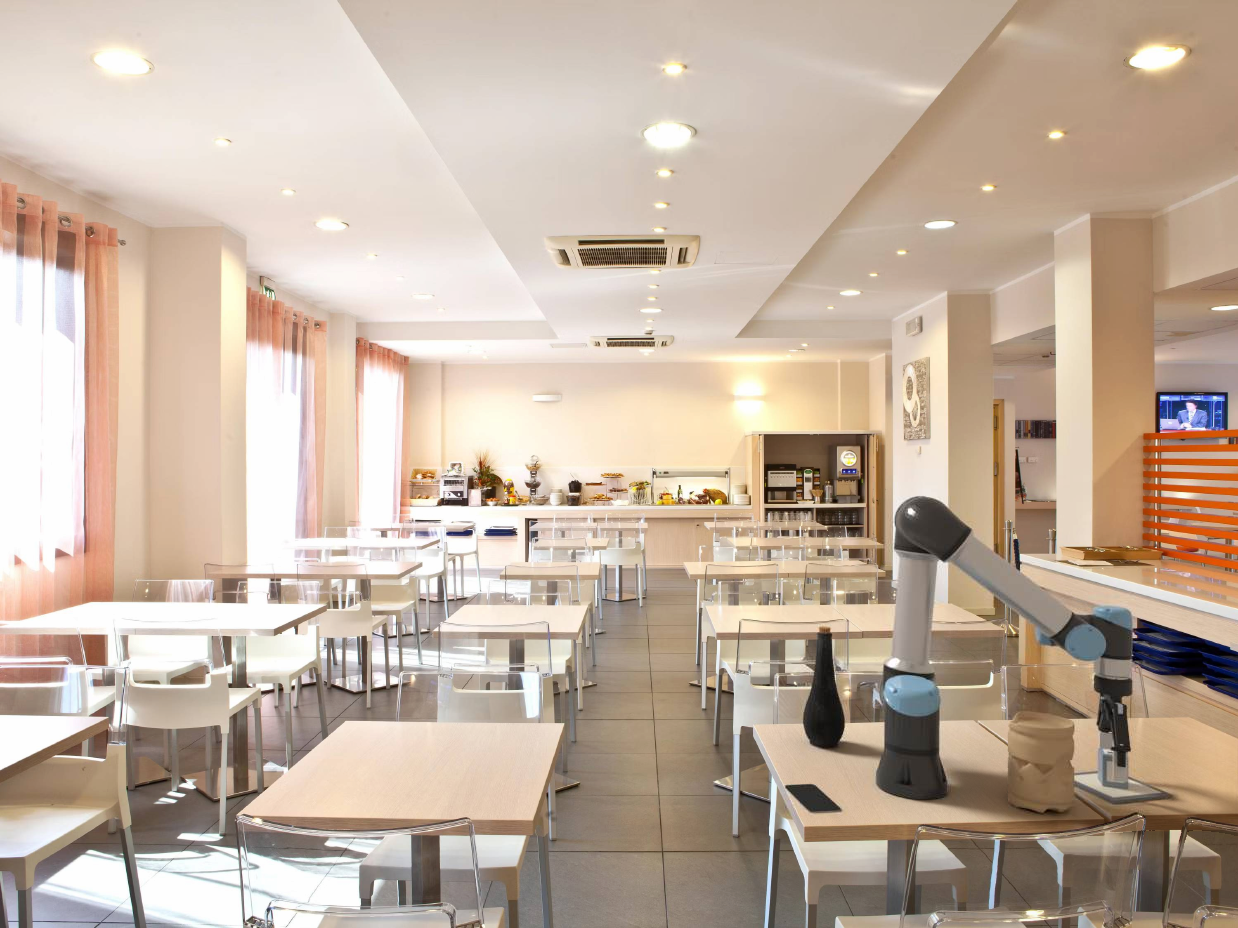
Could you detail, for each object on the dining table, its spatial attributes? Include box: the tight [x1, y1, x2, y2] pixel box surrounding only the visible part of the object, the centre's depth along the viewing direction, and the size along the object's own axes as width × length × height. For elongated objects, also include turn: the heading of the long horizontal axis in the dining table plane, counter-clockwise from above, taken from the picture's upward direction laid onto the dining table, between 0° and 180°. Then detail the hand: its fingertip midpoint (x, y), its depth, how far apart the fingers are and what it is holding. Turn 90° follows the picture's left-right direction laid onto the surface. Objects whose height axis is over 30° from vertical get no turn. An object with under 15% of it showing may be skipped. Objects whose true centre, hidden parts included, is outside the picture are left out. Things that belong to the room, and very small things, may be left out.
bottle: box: [802, 626, 846, 749], centre depth 213 cm, size 11×11×30 cm
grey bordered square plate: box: [1074, 770, 1174, 805], centre depth 185 cm, size 16×16×1 cm
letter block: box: [1097, 747, 1128, 789], centre depth 185 cm, size 5×5×7 cm
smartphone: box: [784, 783, 842, 814], centre depth 176 cm, size 7×1×15 cm
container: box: [1007, 710, 1075, 814], centre depth 174 cm, size 13×13×18 cm
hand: (1112, 770), depth 185 cm, fingers open, 13 cm apart
